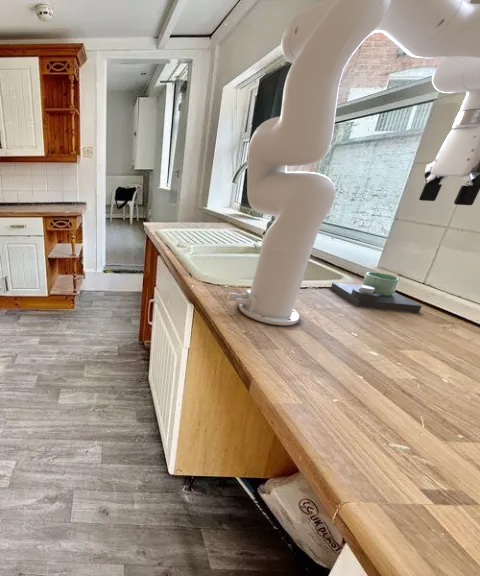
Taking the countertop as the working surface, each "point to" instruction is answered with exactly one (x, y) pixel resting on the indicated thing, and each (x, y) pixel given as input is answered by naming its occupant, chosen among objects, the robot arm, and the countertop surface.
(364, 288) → the tare button
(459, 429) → the countertop surface
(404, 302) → the scale
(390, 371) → the countertop surface
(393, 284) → the bowl
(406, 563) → the countertop surface
